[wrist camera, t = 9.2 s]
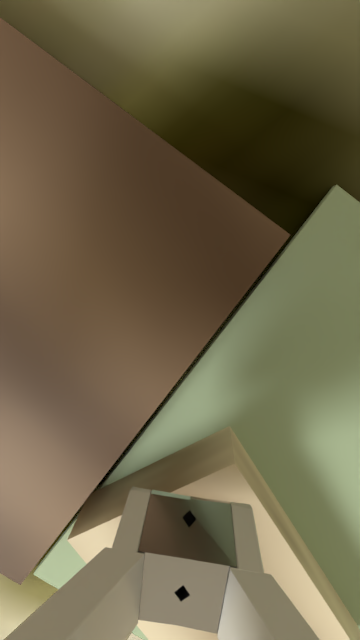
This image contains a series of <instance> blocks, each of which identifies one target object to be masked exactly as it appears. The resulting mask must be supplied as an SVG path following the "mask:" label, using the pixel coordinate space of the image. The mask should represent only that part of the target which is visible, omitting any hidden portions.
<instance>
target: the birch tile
mask: <svg viewBox="0 0 360 640" xmlns="http://www.w3.org/2000/svg"><path fill="white" fill-rule="evenodd" d="M132 486H133V487H138V488H143V489H149V490H157V491H163V492H169V493H174V494H180V495H185V496H193V497H200V498H207V499H214V500H221V501H228V502H236V503H244V504H250V505H251V507H252V509H253V514H254V520H255V525H256V531H257V536H258V542H259V547H260V552H261V558H262V563H263V569H264V573H266V574H271V575H272V576H273V577H274V579H275V580H276V582H277V583H278V584H279V586H280V587H281V588H282V590H283V591H284V592H285V594H286V595H287V596H288V598H289V599H290V600H291V602H292V603H293V604H294V606H295V607H296V608H297V610H298V611H299V612H300V614H301V615H302V616H303V618H304V619H305V620H306V622H307V623H308V624H309V626H310V627H311V629H312V630H313V631H314V633H315V634H316V635H317V637H318V638H319V639H320V640H360V630H359V628H358V625H357V624H356V622H355V621H354V619H353V618H352V616H351V615H350V613H349V611H348V610H347V608H346V607H345V605H344V604H343V602H342V600H341V599H340V597H339V596H338V594H337V593H336V591H335V590H334V588H333V586H332V585H331V583H330V582H329V580H328V579H327V577H326V575H325V574H324V572H323V571H322V569H321V568H320V566H319V565H318V563H317V561H316V560H315V558H314V557H313V555H312V554H311V552H310V550H309V549H308V547H307V546H306V544H305V543H304V541H303V540H302V538H301V536H300V535H299V533H298V532H297V530H296V529H295V527H294V525H293V524H292V522H291V521H290V519H289V518H288V516H287V515H286V513H285V511H284V510H283V508H282V507H281V505H280V504H279V502H278V501H277V499H276V497H275V496H274V494H273V493H272V491H271V490H270V488H269V486H268V485H267V483H266V482H265V480H264V479H263V477H262V476H261V474H260V472H259V471H258V469H257V468H256V466H255V465H254V463H253V461H252V460H251V458H250V457H249V455H248V454H247V452H246V451H245V449H244V447H243V446H242V444H241V443H240V441H239V440H238V438H237V436H236V435H235V433H234V432H233V430H232V429H231V427H230V426H228V427H226V428H224V429H222V430H220V431H218V432H216V433H214V434H212V435H210V436H208V437H206V438H203V439H201V440H199V441H197V442H195V443H193V444H191V445H189V446H187V447H185V448H183V449H181V450H179V451H177V452H175V453H173V454H171V455H169V456H167V457H164V458H162V459H160V460H158V461H156V462H154V463H152V464H150V465H148V466H146V467H144V468H142V469H140V470H138V471H136V472H134V473H132V474H130V475H128V476H126V477H123V478H121V479H119V480H117V481H115V482H113V483H111V484H109V485H107V486H105V487H103V488H101V489H99V490H97V491H95V492H93V493H91V494H90V495H89V497H88V498H87V499H86V501H85V503H84V505H83V507H82V509H81V511H80V513H79V516H78V518H77V520H76V522H75V524H74V526H73V528H72V531H71V533H70V535H69V537H68V539H67V541H68V542H69V543H70V544H71V546H72V547H73V548H74V549H75V550H76V552H77V553H78V554H79V555H80V557H81V558H82V559H83V560H84V561H85V563H86V564H87V563H88V562H89V561H91V560H92V559H93V558H94V557H95V556H96V555H97V554H98V553H99V552H100V551H102V550H103V549H104V548H105V547H107V548H112V545H113V542H114V539H115V536H116V533H117V529H118V526H119V523H120V520H121V517H122V513H123V510H124V507H125V504H126V500H127V497H128V494H129V491H130V489H131V488H132ZM137 626H138V627H139V629H140V630H141V631H142V632H143V634H144V635H145V636H146V637H147V638H148V640H218V637H217V635H218V634H215V633H211V632H206V631H201V630H196V629H192V628H187V627H182V626H178V625H171V624H163V623H156V622H149V621H142V620H138V624H137Z"/></svg>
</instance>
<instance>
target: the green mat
mask: <svg viewBox="0 0 360 640" xmlns="http://www.w3.org/2000/svg"><path fill="white" fill-rule="evenodd" d="M228 426H230V427H231V429H232V430H233V432H234V433H235V435H236V436H237V438H238V440H239V441H240V443H241V444H242V446H243V447H244V449H245V451H246V452H247V454H248V455H249V457H250V458H251V460H252V461H253V463H254V465H255V466H256V468H257V469H258V471H259V472H260V474H261V476H262V477H263V479H264V480H265V482H266V483H267V485H268V486H269V488H270V490H271V491H272V493H273V494H274V496H275V497H276V499H277V501H278V502H279V504H280V505H281V507H282V508H283V510H284V511H285V513H286V515H287V516H288V518H289V519H290V521H291V522H292V524H293V525H294V527H295V529H296V530H297V532H298V533H299V535H300V536H301V538H302V540H303V541H304V543H305V544H306V546H307V547H308V549H309V550H310V552H311V554H312V555H313V557H314V558H315V560H316V561H317V563H318V565H319V566H320V568H321V569H322V571H323V572H324V574H325V575H326V577H327V579H328V580H329V582H330V583H331V585H332V586H333V588H334V590H335V591H336V593H337V594H338V596H339V597H340V599H341V600H342V602H343V604H344V605H345V607H346V608H347V610H348V611H349V613H350V615H351V616H352V618H353V619H354V621H355V622H356V624H357V625H358V628H359V630H360V202H359V201H357V200H356V199H355V198H353V197H352V196H351V195H350V194H348V193H347V192H346V191H344V190H343V189H342V188H341V187H339V186H338V185H335V186H333V187H332V188H331V189H330V190H329V192H328V193H327V194H326V195H325V197H324V198H323V199H322V201H321V202H320V203H319V205H318V206H317V207H316V208H315V210H314V211H313V212H312V214H311V215H310V216H309V217H308V219H307V220H306V221H305V223H304V224H303V225H302V226H301V228H300V229H299V230H298V232H297V233H296V234H295V235H294V237H293V238H292V239H291V241H290V242H289V243H288V244H287V246H286V247H285V248H284V250H283V251H282V252H281V253H280V255H279V256H278V257H277V259H276V260H275V261H274V263H273V264H272V265H271V266H270V268H269V269H268V270H267V272H266V273H265V274H264V275H263V277H262V278H261V279H260V281H259V282H258V283H257V284H256V286H255V287H254V288H253V290H252V291H251V292H250V293H249V295H248V296H247V297H246V299H245V300H244V301H243V302H242V304H241V305H240V306H239V308H238V309H237V310H236V311H235V313H234V314H233V315H232V317H231V318H230V319H229V320H228V322H227V323H226V324H225V326H224V327H223V328H222V330H221V331H220V332H219V333H218V335H217V336H216V337H215V339H214V340H213V341H212V342H211V344H210V345H209V346H208V348H207V349H206V350H205V351H204V353H203V354H202V355H201V357H200V358H199V359H198V360H197V362H196V363H195V364H194V366H193V367H192V368H191V369H190V371H189V372H188V373H187V375H186V376H185V377H184V378H183V380H182V381H181V382H180V384H179V385H178V386H177V388H176V389H175V390H174V391H173V393H172V394H171V395H170V397H169V398H168V399H167V400H166V402H165V403H164V404H163V406H162V407H161V408H160V409H159V411H158V412H157V413H156V415H155V416H154V417H153V418H152V420H151V421H150V422H149V424H148V425H147V426H146V427H145V429H144V430H143V431H142V433H141V434H140V435H139V436H138V438H137V439H136V440H135V442H134V443H133V444H132V445H131V447H130V448H129V449H128V451H127V452H126V453H125V455H124V456H123V457H122V458H121V460H120V461H119V462H118V464H117V465H116V466H115V467H114V469H113V470H112V471H111V473H110V474H109V475H108V476H107V478H106V479H105V480H104V482H103V483H102V484H101V485H100V487H99V488H98V489H97V490H99V489H101V488H103V487H105V486H107V485H109V484H111V483H113V482H115V481H117V480H119V479H121V478H123V477H126V476H128V475H130V474H132V473H134V472H136V471H138V470H140V469H142V468H144V467H146V466H148V465H150V464H152V463H154V462H156V461H158V460H160V459H162V458H164V457H167V456H169V455H171V454H173V453H175V452H177V451H179V450H181V449H183V448H185V447H187V446H189V445H191V444H193V443H195V442H197V441H199V440H201V439H203V438H206V437H208V436H210V435H212V434H214V433H216V432H218V431H220V430H222V429H224V428H226V427H228ZM78 516H79V514H78V515H77V516H76V518H75V519H74V520H73V522H72V523H71V524H70V525H69V527H68V528H67V529H66V531H65V532H64V533H63V534H62V536H61V537H60V538H59V540H58V541H57V542H56V543H55V545H54V546H53V547H52V549H51V550H50V551H49V552H48V554H47V555H46V556H45V558H44V559H43V560H42V561H41V563H40V564H39V565H38V567H37V568H36V570H35V572H34V575H35V576H37V577H39V578H40V579H42V580H44V581H45V582H47V583H49V584H51V585H52V586H54V587H56V588H57V589H60V588H61V587H62V586H63V585H64V584H65V583H66V582H68V581H69V580H70V579H71V578H72V577H73V576H74V575H75V574H76V573H77V572H79V571H80V570H81V569H82V568H83V567H84V566H85V565H86V563H85V561H84V560H83V559H82V558H81V557H80V555H79V554H78V553H77V552H76V550H75V549H74V548H73V547H72V546H71V544H70V543H69V542H68V541H67V539H68V537H69V535H70V533H71V531H72V528H73V526H74V524H75V522H76V520H77V518H78ZM132 633H133V634H134V635H136V636H138V637H139V638H141V639H143V640H148V638H147V637H146V636H145V635H144V634H143V632H142V631H141V630H140V629H139V627H138V626H137V625H136V627H135V628H134V630H133V631H132Z"/></svg>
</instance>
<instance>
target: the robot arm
mask: <svg viewBox="0 0 360 640" xmlns="http://www.w3.org/2000/svg"><path fill="white" fill-rule="evenodd" d="M138 620H142V621H149V622H156V623H163V624H171V625H178V626H182V627H187V628H192V629H196V630H201V631H206V632H211V633H215V634H218V635H217V637H218V640H320V639H319V638H318V637H317V635H316V634H315V633H314V631H313V630H312V629H311V627H310V626H309V624H308V623H307V622H306V620H305V619H304V618H303V616H302V615H301V614H300V612H299V611H298V610H297V608H296V607H295V606H294V604H293V603H292V602H291V600H290V599H289V598H288V596H287V595H286V594H285V592H284V591H283V590H282V588H281V587H280V586H279V584H278V583H277V582H276V580H275V579H274V577H273V576H272V575H271V574H266V573H264V569H263V563H262V558H261V552H260V547H259V542H258V536H257V531H256V525H255V520H254V514H253V509H252V507H251V505H250V504H244V503H236V502H228V501H221V500H214V499H207V498H200V497H193V496H185V495H180V494H174V493H169V492H163V491H157V490H149V489H143V488H138V487H133V486H132V488H131V489H130V491H129V494H128V497H127V500H126V504H125V507H124V510H123V513H122V517H121V520H120V523H119V526H118V529H117V533H116V536H115V539H114V542H113V545H112V548H107V547H105V548H104V549H103V550H102V551H100V552H99V553H98V554H97V555H96V556H95V557H94V558H93V559H92V560H91V561H89V562H88V563H87V564H86V565H85V566H84V567H83V568H82V569H81V570H80V571H79V572H77V573H76V574H75V575H74V576H73V577H72V578H71V579H70V580H69V581H68V582H66V583H65V584H64V585H63V586H62V587H61V588H60V589H59V590H58V591H57V592H55V593H54V594H53V595H52V596H51V597H50V598H49V599H48V600H47V601H46V602H45V603H43V604H42V605H41V606H40V607H39V608H38V609H37V610H36V611H35V612H34V613H32V614H31V615H30V616H29V617H28V618H27V619H26V620H25V621H24V622H23V623H21V624H20V625H19V626H18V627H17V628H16V629H15V630H14V631H13V632H12V633H11V634H9V635H8V636H7V637H6V638H5V639H4V640H127V639H128V637H129V636H130V634H131V633H132V631H133V630H134V628H135V627H136V625H137V624H138Z"/></svg>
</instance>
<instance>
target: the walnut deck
mask: <svg viewBox="0 0 360 640" xmlns="http://www.w3.org/2000/svg"><path fill="white" fill-rule="evenodd" d="M289 236H290V234H289V233H287V232H286V231H285V230H283V229H282V228H281V227H279V226H278V225H277V224H275V223H274V222H273V221H271V220H270V219H269V218H267V217H266V216H265V215H263V214H262V213H261V212H259V211H258V210H257V209H255V208H254V207H253V206H251V205H250V204H249V203H247V202H246V201H245V200H243V199H242V198H241V197H239V196H238V195H237V194H235V193H234V192H233V191H231V190H230V189H229V188H227V187H226V186H225V185H223V184H222V183H221V182H219V181H218V180H217V179H215V178H214V177H213V176H211V175H210V174H209V173H207V172H206V171H205V170H203V169H202V168H201V167H199V166H198V165H197V164H195V163H194V162H193V161H191V160H190V159H189V158H187V157H186V156H185V155H183V154H182V153H181V152H179V151H178V150H177V149H175V148H174V147H173V146H171V145H170V144H169V143H167V142H166V141H165V140H163V139H162V138H161V137H159V136H158V135H157V134H155V133H154V132H153V131H151V130H150V129H149V128H147V127H146V126H145V125H143V124H142V123H141V122H139V121H138V120H137V119H135V118H134V117H133V116H131V115H130V114H129V113H127V112H126V111H125V110H123V109H122V108H121V107H119V106H118V105H117V104H115V103H114V102H113V101H111V100H110V99H109V98H107V97H106V96H105V95H103V94H102V93H101V92H99V91H98V90H96V89H95V88H94V87H92V86H91V85H90V84H88V83H87V82H86V81H84V80H83V79H82V78H80V77H79V76H78V75H76V74H75V73H74V72H72V71H71V70H70V69H68V68H67V67H66V66H64V65H63V64H62V63H60V62H59V61H58V60H56V59H55V58H54V57H52V56H51V55H50V54H48V53H47V52H46V51H44V50H43V49H42V48H40V47H39V46H38V45H36V44H35V43H34V42H32V41H31V40H30V39H28V38H27V37H26V36H24V35H23V34H22V33H20V32H19V31H18V30H16V29H15V28H14V27H12V26H11V25H10V24H8V23H7V22H6V21H4V20H3V19H2V18H0V573H1V574H3V575H4V576H6V577H8V578H9V579H11V580H13V581H14V582H16V583H18V584H20V585H21V583H22V582H23V581H24V580H25V578H26V577H27V576H28V574H29V573H30V572H31V571H32V569H33V568H34V567H35V565H36V564H37V563H38V561H39V560H40V559H41V558H42V556H43V555H44V554H45V552H46V551H47V550H48V549H49V547H50V546H51V545H52V543H53V542H54V541H55V539H56V538H57V537H58V536H59V534H60V533H61V532H62V530H63V529H64V528H65V526H66V525H67V524H68V523H69V521H70V520H71V519H72V517H73V516H74V515H75V514H76V512H77V511H78V510H79V508H80V507H81V506H82V504H83V503H84V502H85V501H86V499H87V498H88V497H89V495H90V494H91V493H92V492H93V490H94V489H95V488H96V486H97V485H98V484H99V482H100V481H101V480H102V479H103V477H104V476H105V475H106V473H107V472H108V471H109V470H110V468H111V467H112V466H113V464H114V463H115V462H116V460H117V459H118V458H119V457H120V455H121V454H122V453H123V451H124V450H125V449H126V447H127V446H128V445H129V444H130V442H131V441H132V440H133V438H134V437H135V436H136V435H137V433H138V432H139V431H140V429H141V428H142V427H143V425H144V424H145V423H146V422H147V420H148V419H149V418H150V416H151V415H152V414H153V413H154V411H155V410H156V409H157V407H158V406H159V405H160V403H161V402H162V401H163V400H164V398H165V397H166V396H167V394H168V393H169V392H170V390H171V389H172V388H173V387H174V385H175V384H176V383H177V381H178V380H179V379H180V378H181V376H182V375H183V374H184V372H185V371H186V370H187V368H188V367H189V366H190V365H191V363H192V362H193V361H194V359H195V358H196V357H197V356H198V354H199V353H200V352H201V350H202V349H203V348H204V346H205V345H206V344H207V343H208V341H209V340H210V339H211V337H212V336H213V335H214V333H215V332H216V331H217V330H218V328H219V327H220V326H221V324H222V323H223V322H224V321H225V319H226V318H227V317H228V315H229V314H230V313H231V311H232V310H233V309H234V308H235V306H236V305H237V304H238V302H239V301H240V300H241V299H242V297H243V296H244V295H245V293H246V292H247V291H248V289H249V288H250V287H251V286H252V284H253V283H254V282H255V280H256V279H257V278H258V276H259V275H260V274H261V273H262V271H263V270H264V269H265V267H266V266H267V265H268V264H269V262H270V261H271V260H272V258H273V257H274V256H275V254H276V253H277V252H278V251H279V249H280V248H281V247H282V245H283V244H284V243H285V242H286V240H287V239H288V238H289Z"/></svg>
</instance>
